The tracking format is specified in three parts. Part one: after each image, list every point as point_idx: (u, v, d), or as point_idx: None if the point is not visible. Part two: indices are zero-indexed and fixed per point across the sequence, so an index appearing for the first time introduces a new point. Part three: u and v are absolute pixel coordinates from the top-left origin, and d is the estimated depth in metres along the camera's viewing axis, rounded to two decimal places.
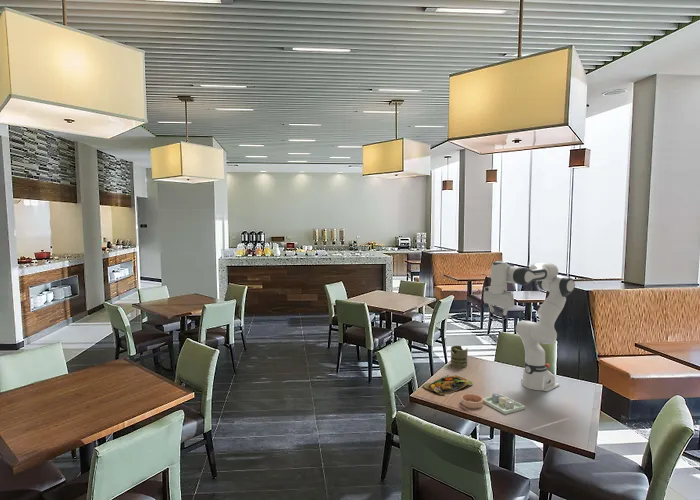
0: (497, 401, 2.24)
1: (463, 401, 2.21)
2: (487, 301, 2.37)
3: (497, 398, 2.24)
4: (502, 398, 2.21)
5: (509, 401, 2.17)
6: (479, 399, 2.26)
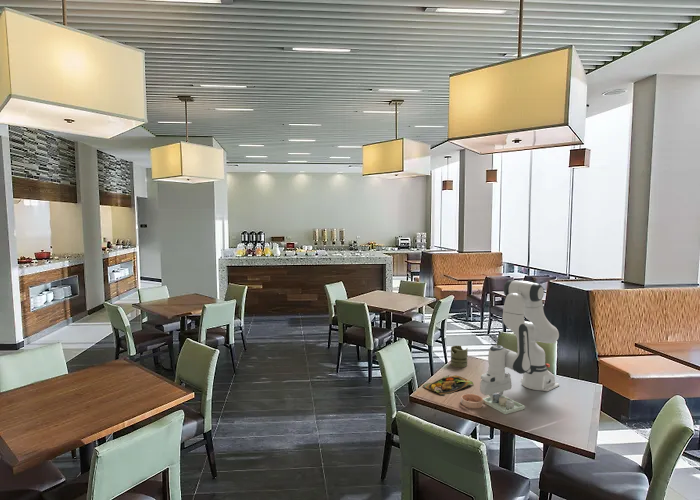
0: (497, 401, 2.24)
1: (463, 401, 2.21)
2: (489, 392, 2.21)
3: (497, 398, 2.24)
4: (502, 398, 2.21)
5: (509, 401, 2.17)
6: (479, 399, 2.26)
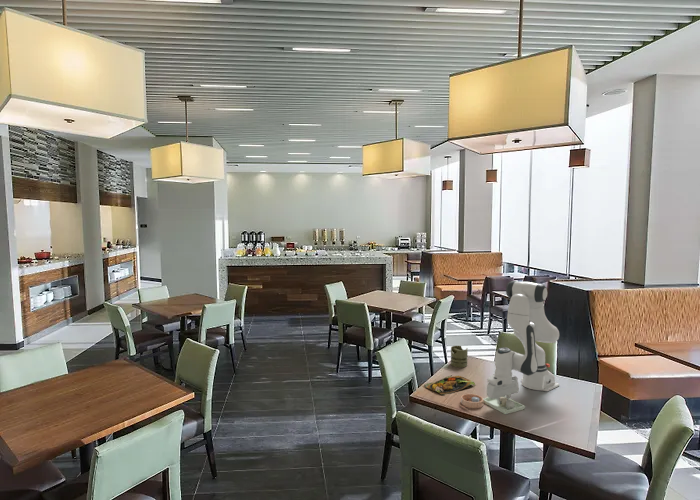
0: None
1: (463, 401, 2.21)
2: (496, 396, 2.16)
3: None
4: (502, 398, 2.21)
5: (509, 401, 2.17)
6: (479, 399, 2.26)
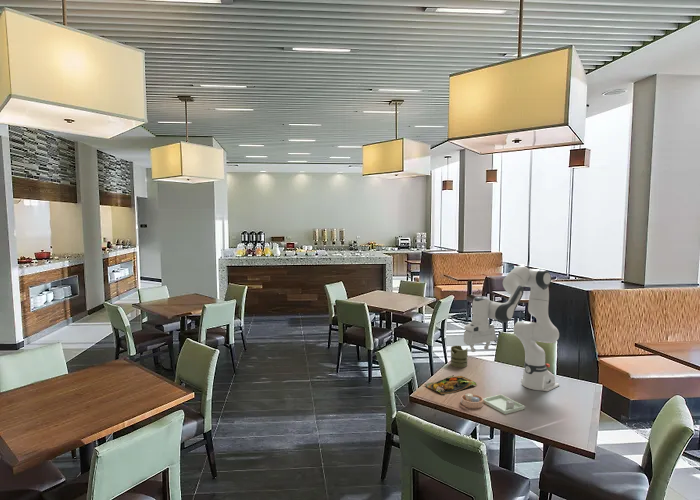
0: None
1: (463, 401, 2.21)
2: (473, 342, 2.20)
3: None
4: (468, 395, 2.25)
5: (509, 401, 2.17)
6: (479, 399, 2.26)
